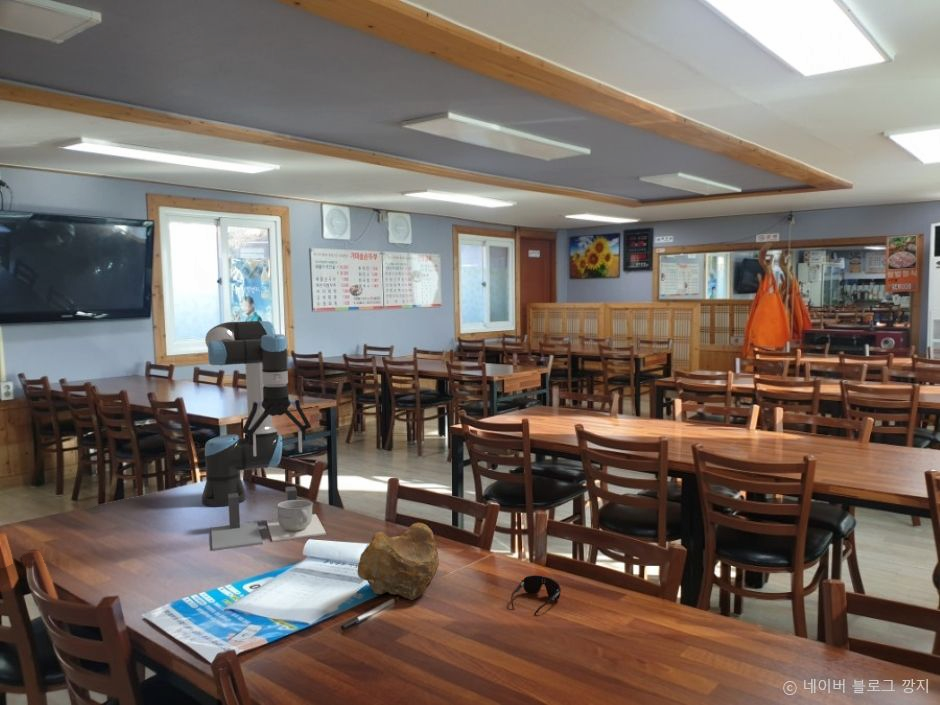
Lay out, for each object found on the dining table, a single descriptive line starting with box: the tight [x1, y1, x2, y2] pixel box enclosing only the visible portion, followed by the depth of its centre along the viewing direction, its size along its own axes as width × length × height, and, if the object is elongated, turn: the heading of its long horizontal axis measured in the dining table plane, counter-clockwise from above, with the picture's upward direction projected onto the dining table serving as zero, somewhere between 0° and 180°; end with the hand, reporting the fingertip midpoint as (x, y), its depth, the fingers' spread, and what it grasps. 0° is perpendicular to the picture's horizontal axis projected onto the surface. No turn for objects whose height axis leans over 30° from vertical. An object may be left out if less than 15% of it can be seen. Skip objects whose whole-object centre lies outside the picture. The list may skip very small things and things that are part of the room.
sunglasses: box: [510, 574, 562, 615], centre depth 168 cm, size 10×12×5 cm
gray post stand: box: [210, 493, 263, 551], centre depth 216 cm, size 21×14×11 cm, turn 21°
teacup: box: [277, 499, 314, 531], centre depth 220 cm, size 14×11×8 cm
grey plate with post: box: [266, 486, 327, 543], centre depth 223 cm, size 21×16×11 cm
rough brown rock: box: [357, 522, 440, 601], centre depth 175 cm, size 23×17×15 cm
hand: (277, 453), depth 216 cm, fingers open, 13 cm apart
